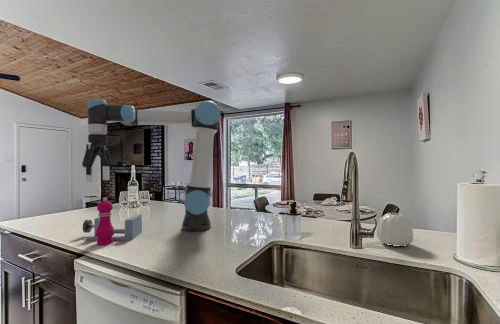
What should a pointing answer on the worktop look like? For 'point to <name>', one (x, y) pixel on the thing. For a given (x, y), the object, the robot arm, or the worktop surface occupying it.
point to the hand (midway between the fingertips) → (98, 181)
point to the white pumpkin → (395, 229)
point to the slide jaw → (88, 225)
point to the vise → (127, 229)
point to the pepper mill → (104, 223)
